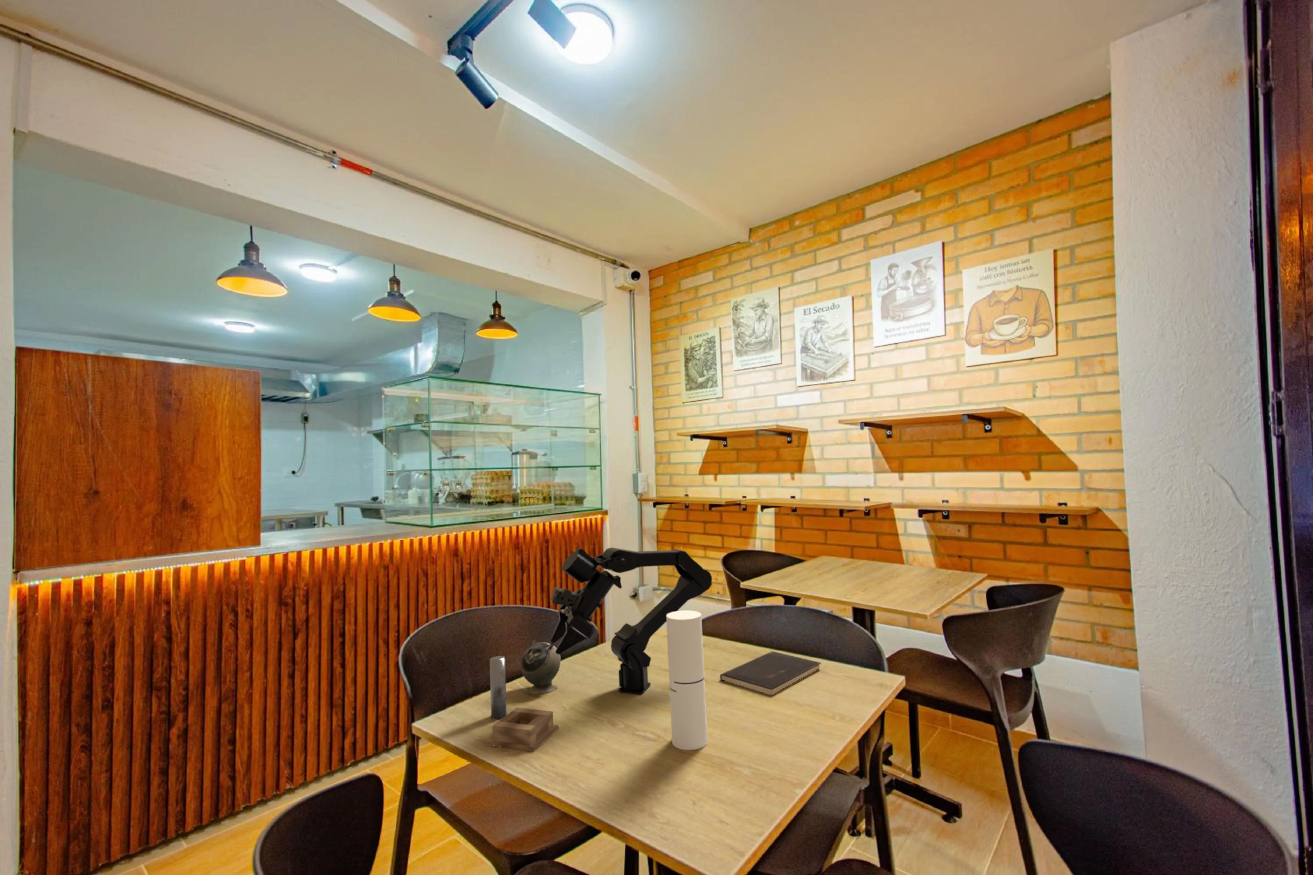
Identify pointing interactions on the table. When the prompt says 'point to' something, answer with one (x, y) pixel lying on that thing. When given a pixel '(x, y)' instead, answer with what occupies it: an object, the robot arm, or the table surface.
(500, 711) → the steel pin
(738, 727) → the table surface
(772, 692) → the hardcover book
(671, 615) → the cylindrical container
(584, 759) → the table surface
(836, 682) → the table surface
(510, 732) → the socket board
